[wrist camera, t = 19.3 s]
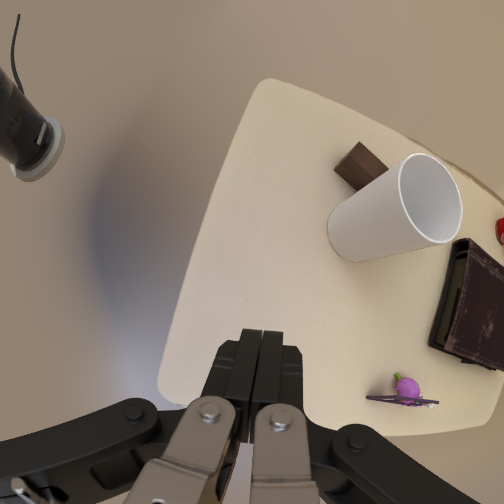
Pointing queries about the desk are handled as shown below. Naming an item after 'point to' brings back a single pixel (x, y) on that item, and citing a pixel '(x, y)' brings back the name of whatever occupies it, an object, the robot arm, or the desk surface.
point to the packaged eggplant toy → (406, 394)
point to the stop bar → (360, 167)
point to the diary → (472, 308)
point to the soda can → (500, 230)
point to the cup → (398, 212)
